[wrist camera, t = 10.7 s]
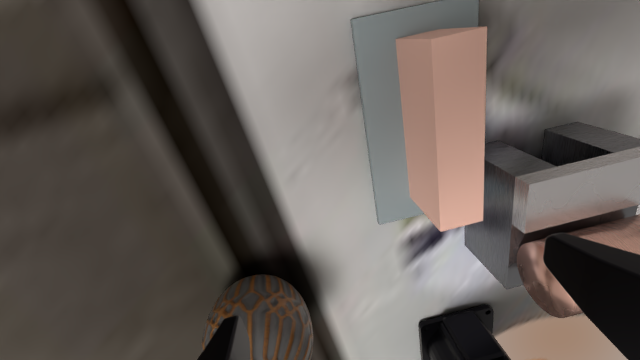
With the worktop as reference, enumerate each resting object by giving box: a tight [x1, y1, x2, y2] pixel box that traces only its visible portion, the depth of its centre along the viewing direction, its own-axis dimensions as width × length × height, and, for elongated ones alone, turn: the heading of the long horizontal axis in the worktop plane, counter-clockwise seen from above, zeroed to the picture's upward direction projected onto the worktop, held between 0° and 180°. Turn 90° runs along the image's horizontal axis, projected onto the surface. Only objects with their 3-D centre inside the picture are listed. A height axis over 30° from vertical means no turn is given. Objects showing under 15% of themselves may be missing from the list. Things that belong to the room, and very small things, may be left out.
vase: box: [202, 275, 313, 360], centre depth 20 cm, size 7×7×9 cm
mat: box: [351, 0, 479, 225], centre depth 20 cm, size 13×7×1 cm, turn 11°
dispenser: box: [465, 122, 640, 318], centre depth 19 cm, size 8×8×9 cm
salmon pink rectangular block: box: [395, 27, 487, 232], centre depth 18 cm, size 10×2×4 cm, turn 12°
